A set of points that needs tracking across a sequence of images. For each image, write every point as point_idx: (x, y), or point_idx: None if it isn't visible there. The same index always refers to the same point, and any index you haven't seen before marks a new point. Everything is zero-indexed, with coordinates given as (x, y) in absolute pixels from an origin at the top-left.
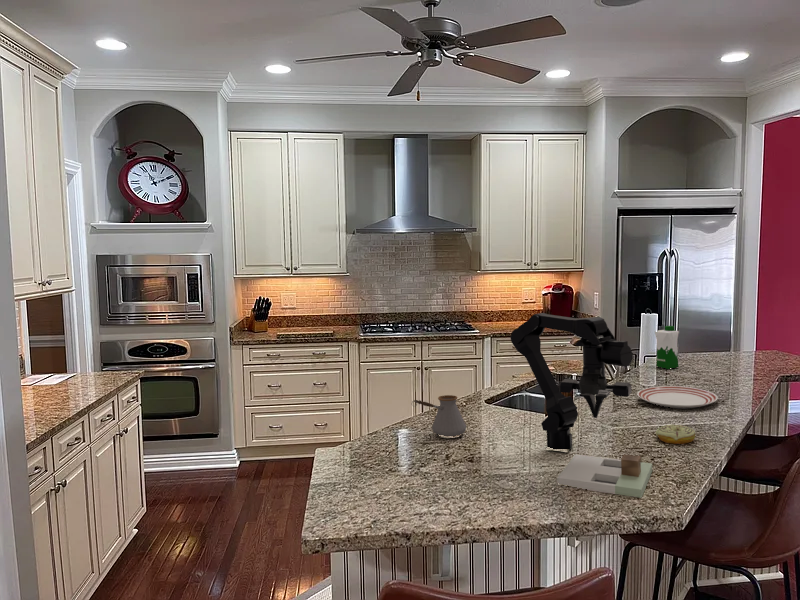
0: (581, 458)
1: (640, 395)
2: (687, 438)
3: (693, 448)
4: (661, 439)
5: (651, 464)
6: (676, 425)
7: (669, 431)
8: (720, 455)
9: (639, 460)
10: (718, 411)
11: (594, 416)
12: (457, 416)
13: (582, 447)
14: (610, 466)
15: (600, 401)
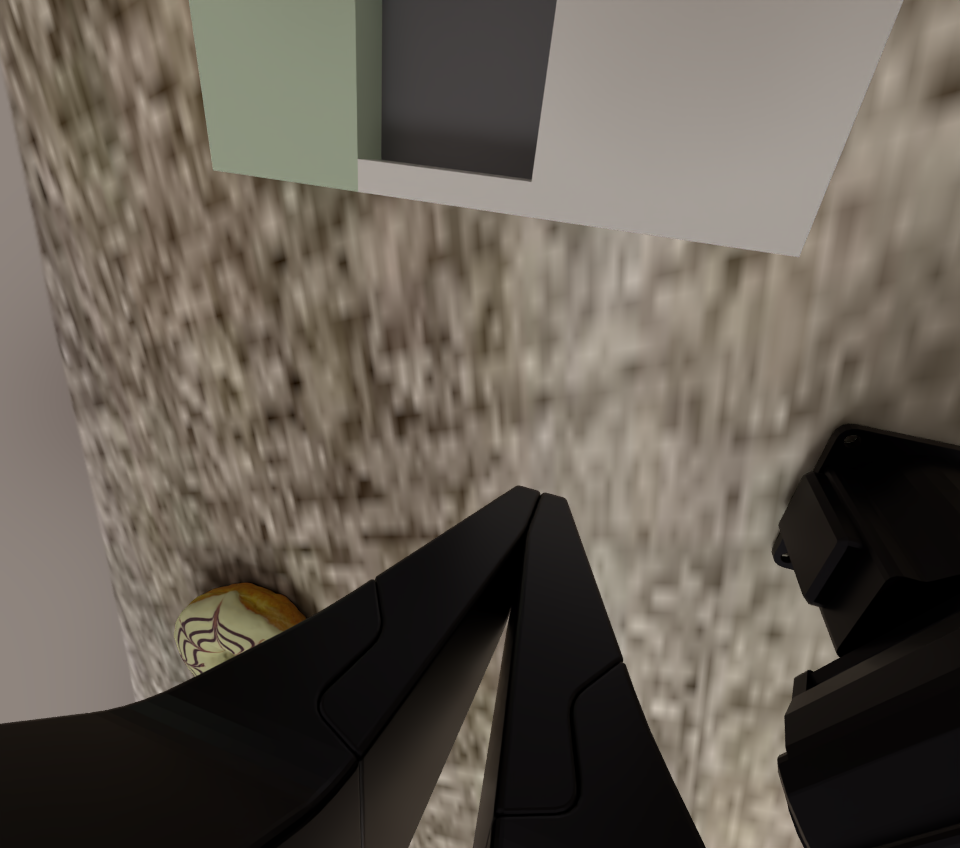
0: (749, 131)
1: None
2: (196, 598)
3: (187, 536)
4: (301, 620)
5: (211, 144)
6: None
7: (242, 642)
8: (90, 463)
9: None
10: None
11: (546, 502)
12: None
13: (692, 546)
14: (496, 157)
15: (198, 703)
